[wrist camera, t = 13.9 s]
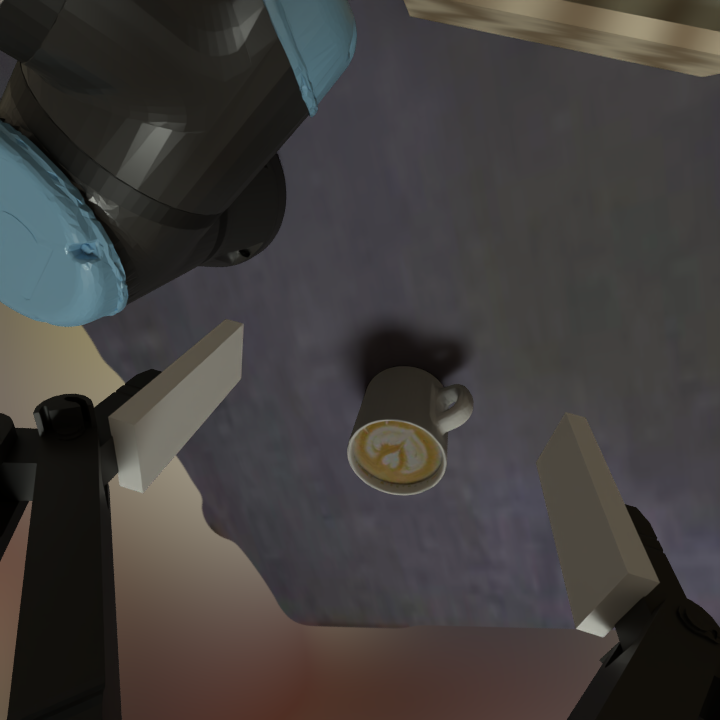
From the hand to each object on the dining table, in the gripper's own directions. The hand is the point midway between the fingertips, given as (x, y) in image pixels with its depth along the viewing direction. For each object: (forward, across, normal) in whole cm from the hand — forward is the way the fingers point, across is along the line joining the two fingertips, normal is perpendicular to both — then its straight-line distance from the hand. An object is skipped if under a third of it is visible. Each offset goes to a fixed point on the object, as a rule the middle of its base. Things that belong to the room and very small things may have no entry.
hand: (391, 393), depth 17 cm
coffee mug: (+27, +4, -18) cm, 33 cm away
